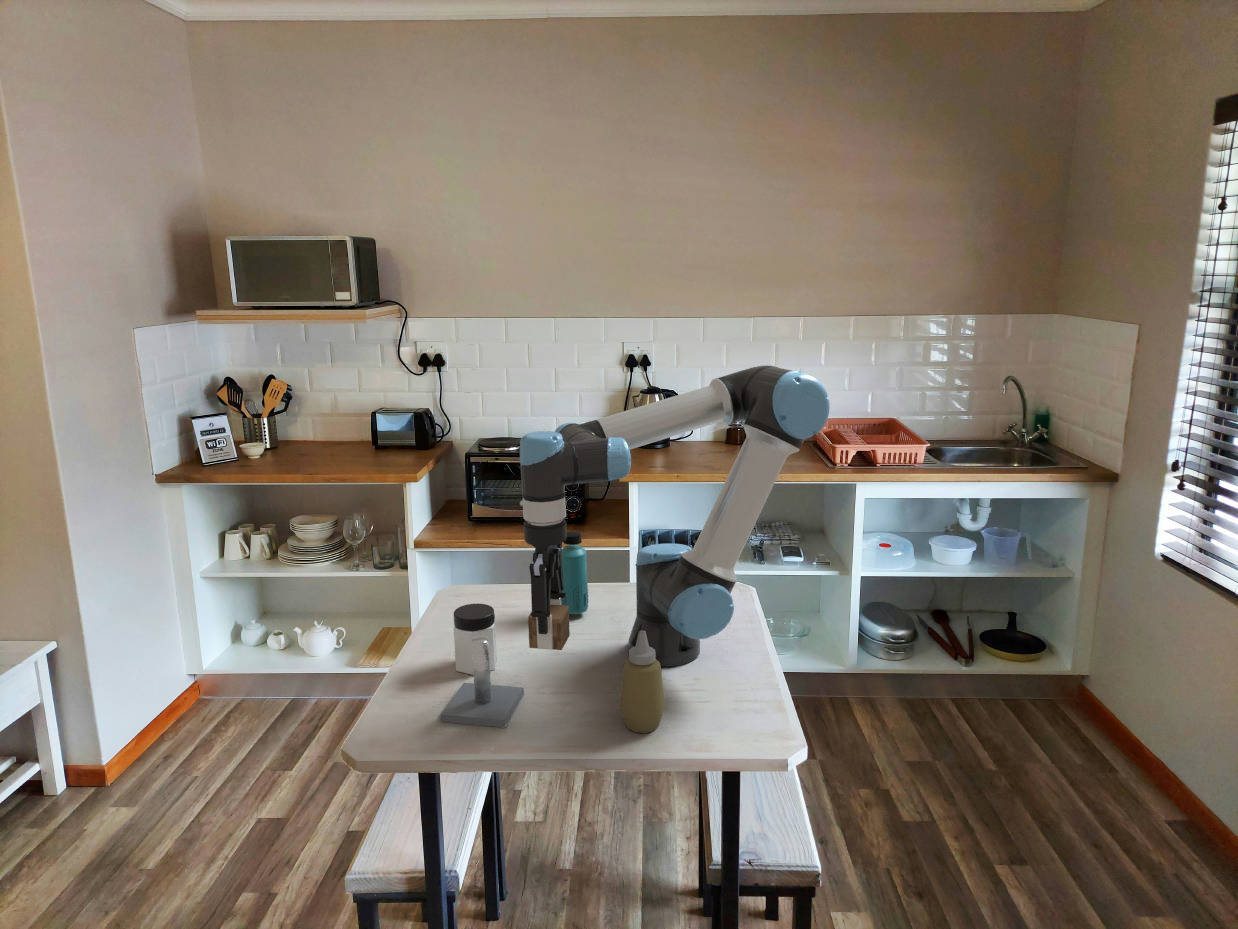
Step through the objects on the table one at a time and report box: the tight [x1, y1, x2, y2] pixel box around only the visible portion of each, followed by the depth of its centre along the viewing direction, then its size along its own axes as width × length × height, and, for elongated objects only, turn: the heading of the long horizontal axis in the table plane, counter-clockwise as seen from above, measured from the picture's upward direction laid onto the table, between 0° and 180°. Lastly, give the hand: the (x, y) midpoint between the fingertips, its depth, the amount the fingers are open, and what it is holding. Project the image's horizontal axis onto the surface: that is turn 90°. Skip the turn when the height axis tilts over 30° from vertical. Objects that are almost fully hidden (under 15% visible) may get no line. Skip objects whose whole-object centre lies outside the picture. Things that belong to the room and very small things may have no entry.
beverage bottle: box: [559, 531, 590, 615], centre depth 198 cm, size 6×7×20 cm
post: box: [472, 637, 492, 705], centre depth 158 cm, size 3×3×12 cm
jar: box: [453, 603, 498, 676], centre depth 175 cm, size 9×8×12 cm
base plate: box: [439, 682, 525, 728], centre depth 160 cm, size 12×12×2 cm
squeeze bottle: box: [619, 630, 666, 734], centre depth 152 cm, size 8×8×18 cm
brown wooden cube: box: [527, 605, 571, 651], centre depth 157 cm, size 6×6×6 cm
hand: (550, 639), depth 158 cm, fingers closed on brown wooden cube, 6 cm apart
